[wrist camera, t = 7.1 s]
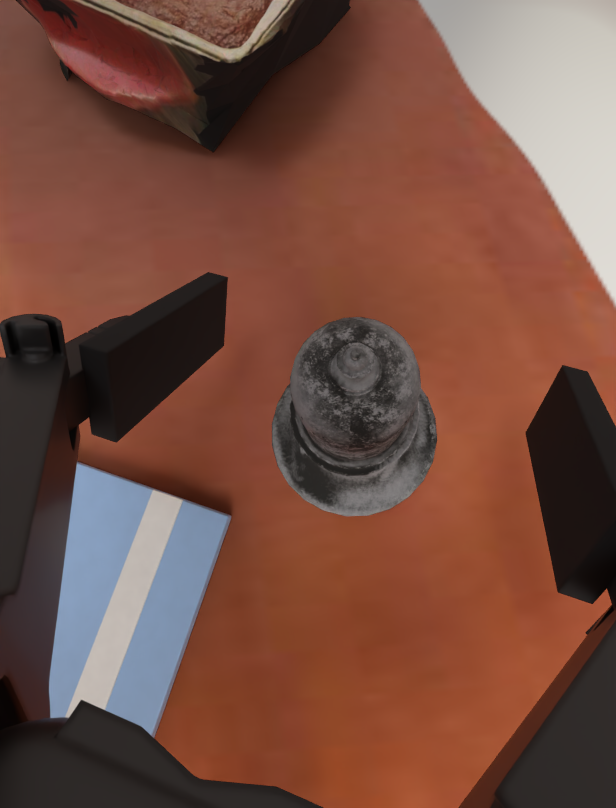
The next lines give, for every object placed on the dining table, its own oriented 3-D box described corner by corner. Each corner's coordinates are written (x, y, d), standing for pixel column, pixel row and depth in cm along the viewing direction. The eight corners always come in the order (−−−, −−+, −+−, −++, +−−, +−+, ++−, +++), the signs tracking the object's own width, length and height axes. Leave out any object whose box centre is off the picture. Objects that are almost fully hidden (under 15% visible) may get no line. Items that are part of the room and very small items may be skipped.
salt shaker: (425, 385, 20) (533, 209, 8) (417, 522, 18) (532, 550, 7) (293, 374, 20) (217, 199, 9) (277, 506, 19) (163, 507, 7)
